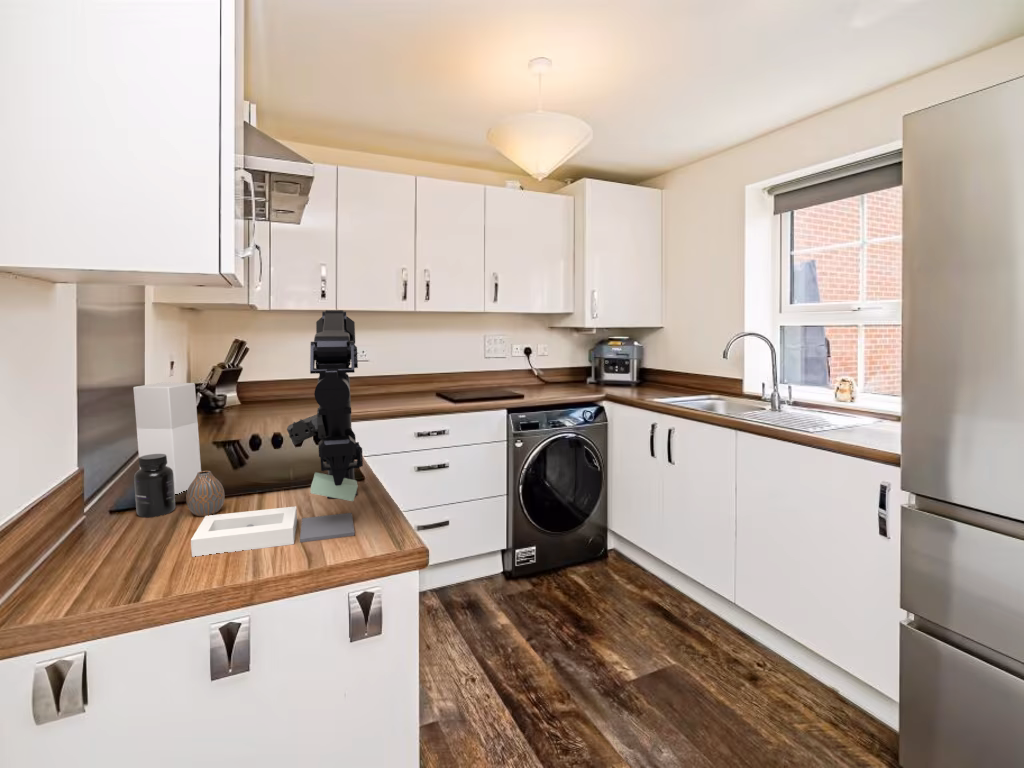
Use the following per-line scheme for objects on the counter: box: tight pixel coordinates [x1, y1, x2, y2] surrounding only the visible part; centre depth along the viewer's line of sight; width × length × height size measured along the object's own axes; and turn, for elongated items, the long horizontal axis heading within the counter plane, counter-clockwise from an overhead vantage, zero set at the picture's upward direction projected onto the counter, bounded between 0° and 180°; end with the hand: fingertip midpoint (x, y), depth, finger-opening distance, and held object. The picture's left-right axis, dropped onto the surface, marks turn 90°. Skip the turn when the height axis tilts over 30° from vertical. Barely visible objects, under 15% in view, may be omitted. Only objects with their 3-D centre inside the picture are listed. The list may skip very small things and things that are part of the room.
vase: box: [185, 470, 225, 517], centre depth 111 cm, size 7×7×9 cm
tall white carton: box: [133, 382, 202, 495], centre depth 127 cm, size 9×9×25 cm
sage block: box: [310, 471, 359, 502], centre depth 103 cm, size 4×8×3 cm, turn 110°
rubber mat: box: [299, 512, 355, 543], centre depth 104 cm, size 11×10×1 cm
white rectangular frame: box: [190, 505, 298, 558], centre depth 99 cm, size 12×16×3 cm
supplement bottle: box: [133, 454, 176, 518], centre depth 112 cm, size 7×7×12 cm
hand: (338, 482), depth 103 cm, fingers closed on sage block, 4 cm apart
